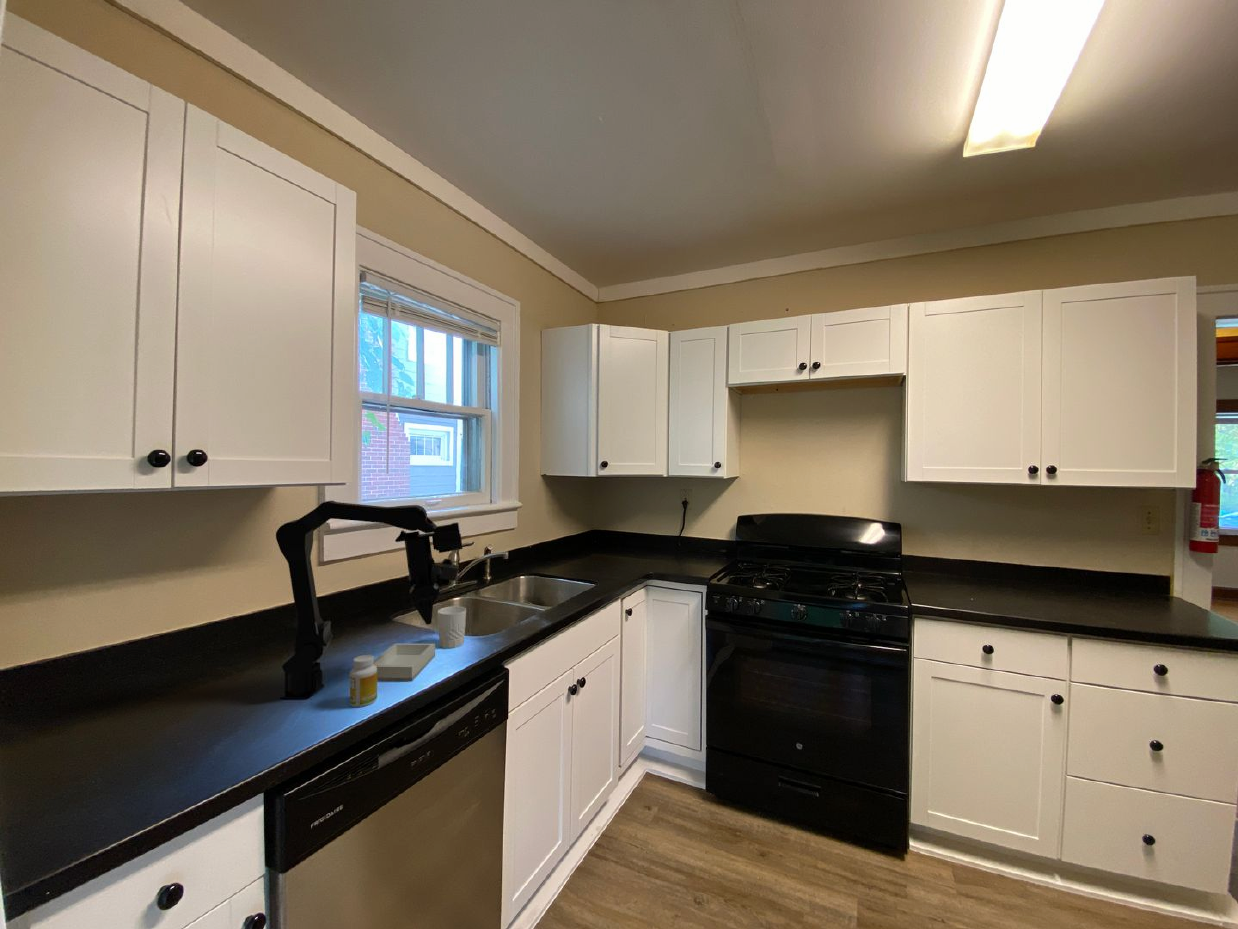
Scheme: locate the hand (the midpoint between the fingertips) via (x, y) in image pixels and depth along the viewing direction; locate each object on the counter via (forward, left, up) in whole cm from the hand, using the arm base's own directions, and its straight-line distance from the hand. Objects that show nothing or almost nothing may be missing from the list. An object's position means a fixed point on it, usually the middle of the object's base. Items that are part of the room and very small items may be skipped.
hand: (427, 618), depth 120 cm
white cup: (-1, +22, -15) cm, 26 cm away
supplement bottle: (-9, -12, -15) cm, 21 cm away
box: (-8, +5, -15) cm, 17 cm away
